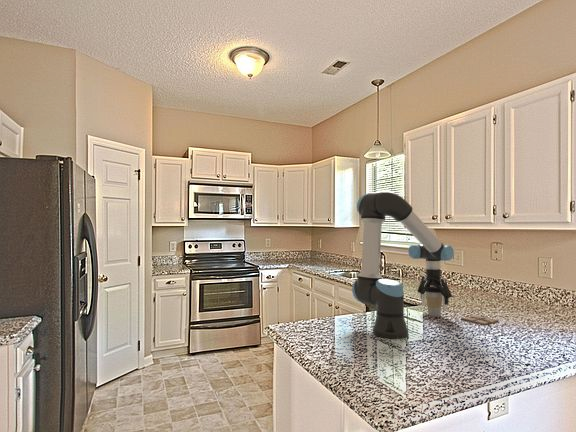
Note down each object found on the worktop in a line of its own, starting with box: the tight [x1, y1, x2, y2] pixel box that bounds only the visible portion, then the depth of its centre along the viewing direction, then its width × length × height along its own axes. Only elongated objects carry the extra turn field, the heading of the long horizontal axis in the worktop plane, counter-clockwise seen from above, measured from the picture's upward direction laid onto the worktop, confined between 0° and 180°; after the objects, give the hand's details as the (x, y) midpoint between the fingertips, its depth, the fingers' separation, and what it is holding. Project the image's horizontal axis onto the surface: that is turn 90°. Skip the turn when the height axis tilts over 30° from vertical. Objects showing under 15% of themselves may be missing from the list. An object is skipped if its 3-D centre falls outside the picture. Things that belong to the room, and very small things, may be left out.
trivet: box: [460, 314, 499, 326], centre depth 177 cm, size 12×12×1 cm
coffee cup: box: [425, 286, 443, 318], centre depth 190 cm, size 9×9×15 cm
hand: (434, 308), depth 189 cm, fingers open, 13 cm apart
